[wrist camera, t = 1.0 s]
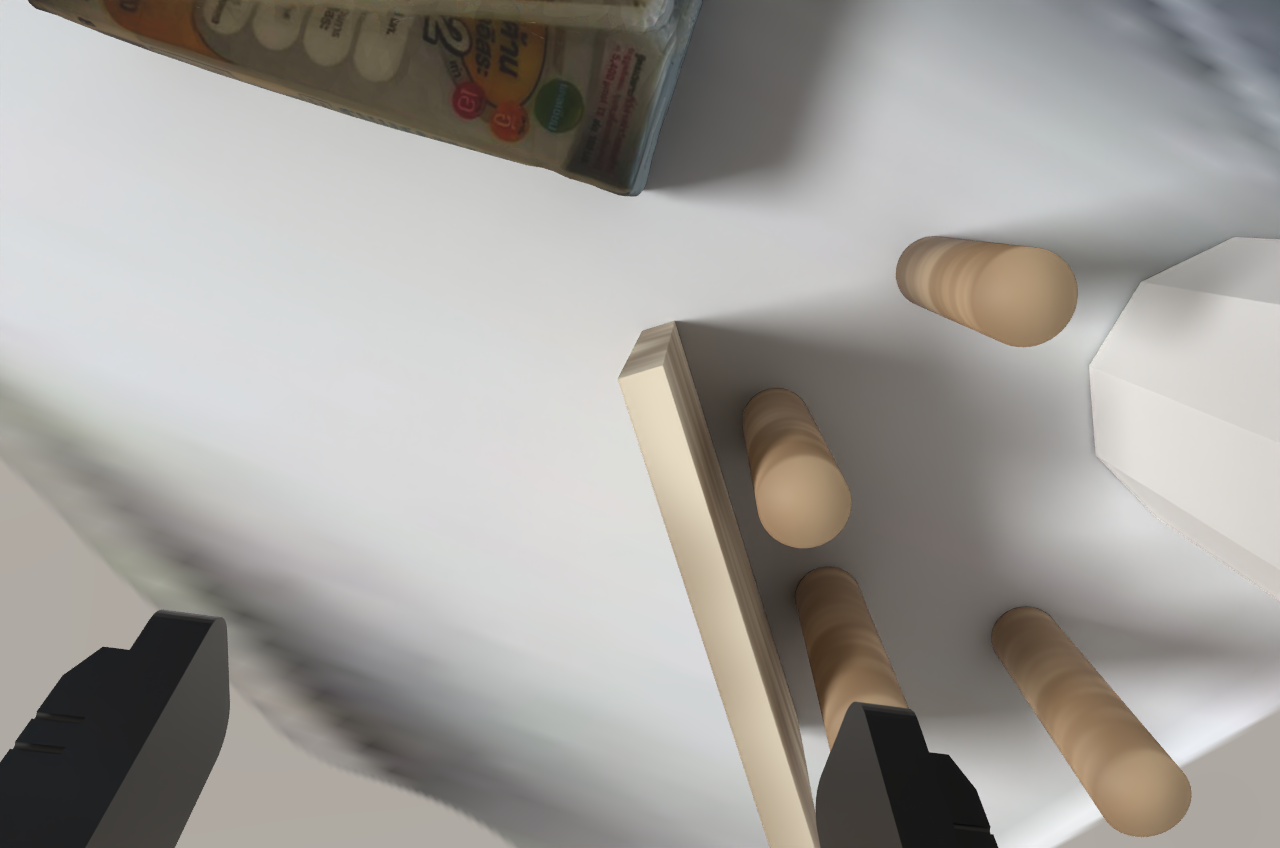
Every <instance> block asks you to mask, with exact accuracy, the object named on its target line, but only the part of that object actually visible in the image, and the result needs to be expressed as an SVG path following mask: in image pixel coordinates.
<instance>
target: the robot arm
mask: <svg viewBox="0 0 1280 848" xmlns="http://www.w3.org/2000/svg"><path fill="white" fill-rule="evenodd" d="M229 710H230V695H229V669H228V643H227V626H226V622H225V620H224V619H223V618H221V617H214V616H207V615H199V614H191V613H184V612H176V611H168V610H159V611H157V612H156V613H155V614H154V615H153V616H152V617H151V619H150V620H149V621H148V623H147V624H146V626H145V627H144V629H143V630H142V632H141V634H140V635H139V637H138V638H137V640H136V641H135V643H134V644H133V646H132V647H131V649H130V650H124V649H117V648H109V647H102V648H101V649H99V650H98V651H96V652H95V653H94V654H92V655H91V656H89V657H88V658H87V659H85V660H84V661H82V662H81V663H80V664H78V665H77V666H75V667H74V668H73V669H71V670H70V671H68V672H67V673H66V674H64V675H63V676H62V677H61V679H60V680H59V681H58V683H57V684H56V686H55V687H54V689H53V690H52V691H51V693H50V694H49V695H48V697H47V698H46V700H45V701H44V702H43V704H42V705H41V707H40V708H39V709H38V711H37V715H36V717H35V719H31V721H30V722H29V723H28V725H27V726H26V727H25V729H24V730H23V732H22V733H21V734H20V736H19V737H18V738H17V740H16V742H15V746H14V748H13V749H10V750H9V751H8V752H7V754H6V755H5V757H4V758H3V759H2V761H1V762H0V848H175V846H176V844H177V842H178V840H179V838H180V835H181V833H182V831H183V829H184V827H185V825H186V823H187V821H188V819H189V817H190V814H191V812H192V810H193V808H194V806H195V804H196V802H197V799H198V798H199V795H200V793H201V791H202V789H203V787H204V785H205V783H206V780H207V779H208V777H209V774H210V772H211V770H212V768H213V766H214V764H215V762H216V760H217V757H218V755H219V752H220V750H221V747H222V744H223V741H224V737H225V734H226V729H227V725H228V719H229ZM816 826H817V832H818V837H819V843H820V848H998V846H997V843H996V841H995V838H994V835H992V834H990V825H989V822H988V819H987V817H986V814H985V812H984V809H983V806H982V804H981V801H980V798H979V796H978V793H977V790H976V789H975V787H974V786H973V785H972V784H971V782H970V781H969V780H968V779H967V777H966V776H965V775H964V774H963V772H962V771H961V770H960V769H959V767H958V766H957V765H956V764H955V762H954V761H953V760H952V759H951V757H950V756H949V755H946V754H938V753H930V752H929V751H928V749H927V746H926V743H925V740H924V737H923V734H922V731H921V728H920V725H919V722H918V720H917V717H916V715H915V713H914V712H913V711H912V710H911V709H909V708H902V707H894V706H886V705H878V704H871V703H863V702H853V703H852V704H851V705H850V706H849V707H848V709H847V711H846V714H845V716H844V719H843V721H842V724H841V726H840V729H839V731H838V734H837V737H836V739H835V742H834V744H833V747H832V749H831V752H830V754H829V757H828V760H827V762H826V765H825V767H824V770H823V772H822V775H821V778H820V781H819V785H818V790H817V797H816Z"/></svg>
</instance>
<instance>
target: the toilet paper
mask: <svg viewBox="0 0 1280 848" xmlns="http://www.w3.org/2000/svg"><path fill="white" fill-rule="evenodd" d="M1089 373H1090V387H1091V400H1092V413H1093V427H1094V440H1095V453H1096V456H1097V457H1098V458H1099V459H1100V460H1101V461H1102V462H1103V463H1104V464H1105V465H1106V466H1107V467H1108V468H1109V469H1110V470H1111V472H1112V473H1113V474H1114V475H1115V476H1116V477H1117V478H1118V479H1119V480H1120V481H1121V482H1122V483H1123V484H1124V485H1125V486H1126V487H1127V488H1128V489H1129V490H1130V491H1131V492H1132V493H1133V494H1134V495H1135V496H1136V497H1137V498H1138V499H1139V500H1140V502H1141V503H1142V504H1143V505H1144V506H1145V507H1146V508H1147V509H1148V510H1149V511H1150V512H1151V513H1152V514H1153V515H1154V516H1155V517H1156V518H1158V519H1159V520H1160V521H1162V522H1163V523H1165V524H1166V525H1168V526H1169V527H1171V528H1172V529H1174V530H1175V531H1177V532H1178V533H1180V534H1181V535H1183V536H1184V537H1186V538H1187V539H1188V540H1190V541H1191V542H1193V543H1194V544H1196V545H1197V546H1199V547H1200V548H1202V549H1203V550H1205V551H1206V552H1208V553H1209V554H1211V555H1212V556H1213V557H1215V558H1216V559H1218V560H1219V561H1221V562H1222V563H1224V564H1225V565H1227V566H1228V567H1230V568H1231V569H1233V570H1234V571H1236V572H1237V573H1239V574H1240V575H1241V576H1243V577H1244V578H1246V579H1247V580H1249V581H1250V582H1252V583H1253V584H1255V585H1256V586H1258V587H1259V588H1261V589H1262V590H1264V591H1265V592H1267V593H1268V594H1269V595H1271V596H1272V597H1274V598H1275V599H1277V600H1278V601H1280V239H1264V238H1244V237H1233V238H1231V239H1229V240H1227V241H1225V242H1223V243H1221V244H1218V245H1216V246H1214V247H1212V248H1210V249H1208V250H1206V251H1204V252H1202V253H1200V254H1198V255H1196V256H1194V257H1192V258H1189V259H1187V260H1185V261H1183V262H1181V263H1179V264H1177V265H1175V266H1173V267H1171V268H1169V269H1167V270H1165V271H1162V272H1160V273H1158V274H1156V275H1154V276H1152V277H1150V278H1148V279H1146V280H1144V281H1142V282H1141V283H1140V284H1139V286H1138V287H1137V289H1136V291H1135V292H1134V294H1133V295H1132V297H1131V299H1130V300H1129V302H1128V304H1127V305H1126V307H1125V308H1124V310H1123V312H1122V313H1121V315H1120V317H1119V318H1118V320H1117V321H1116V323H1115V325H1114V326H1113V328H1112V329H1111V331H1110V333H1109V334H1108V336H1107V338H1106V339H1105V341H1104V342H1103V344H1102V346H1101V347H1100V349H1099V351H1098V352H1097V354H1096V355H1095V357H1094V359H1093V360H1092V362H1091V364H1090V365H1089Z"/></svg>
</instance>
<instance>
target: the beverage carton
mask: <svg viewBox="0 0 1280 848" xmlns="http://www.w3.org/2000/svg"><path fill="white" fill-rule="evenodd" d="M28 1H29V3H30V4H31V5H32V6H33V7H35V8H36V9H39V10H42V11H46V12H49V13H52V14H55V15H58V16H61V17H63V18H65V19H67V20H70V21H73V22H75V23H78V24H80V25H83V26H85V27H88V28H91V29H93V30H96V31H98V32H100V33H103V34H105V35H108V36H111V37H114V38H116V39H119V40H122V41H125V42H128V43H130V44H133V45H136V46H139V47H141V48H144V49H147V50H150V51H153V52H155V53H158V54H161V55H164V56H167V57H170V58H173V59H176V60H179V61H182V62H185V63H188V64H191V65H194V66H197V67H199V68H202V69H205V70H208V71H211V72H214V73H217V74H220V75H223V76H226V77H229V78H233V79H236V80H239V81H242V82H245V83H248V84H251V85H254V86H258V87H261V88H264V89H267V90H270V91H273V92H277V93H280V94H283V95H286V96H289V97H293V98H296V99H299V100H302V101H306V102H309V103H312V104H315V105H318V106H322V107H325V108H328V109H331V110H334V111H337V112H340V113H343V114H346V115H350V116H353V117H356V118H360V119H363V120H367V121H370V122H373V123H377V124H380V125H384V126H387V127H391V128H394V129H397V130H401V131H405V132H408V133H412V134H416V135H420V136H423V137H427V138H431V139H434V140H438V141H442V142H445V143H449V144H453V145H456V146H460V147H463V148H467V149H471V150H474V151H478V152H481V153H485V154H489V155H492V156H496V157H499V158H503V159H507V160H510V161H514V162H517V163H521V164H525V165H529V166H536V167H542V168H545V169H548V170H552V171H554V172H557V173H559V174H561V175H563V176H565V177H567V178H570V179H574V180H577V181H580V182H584V183H587V184H590V185H593V186H596V187H598V188H600V189H603V190H606V191H609V192H611V193H614V194H617V195H622V196H637V195H639V194H640V193H641V192H642V191H643V189H644V187H645V185H646V183H647V179H648V174H649V170H650V165H651V161H652V157H653V153H654V150H655V147H656V143H657V140H658V136H659V133H660V129H661V126H662V124H663V121H664V119H665V116H666V114H667V111H668V108H669V104H670V101H671V98H672V95H673V92H674V88H675V85H676V82H677V79H678V76H679V72H680V69H681V66H682V63H683V60H684V57H685V54H686V51H687V48H688V45H689V41H690V38H691V35H692V32H693V28H694V25H695V23H696V20H697V17H698V14H699V11H700V8H701V5H702V1H703V0H28Z"/></svg>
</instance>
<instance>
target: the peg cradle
mask: <svg viewBox="0 0 1280 848" xmlns="http://www.w3.org/2000/svg"><path fill="white" fill-rule="evenodd" d="M896 280H897V284H898V287H899V289H900V291H901V292H902V294H903V295H904V296H905V297H906V298H907V299H908V300H909V301H911V302H912V303H914V304H916V305H918V306H921V307H923V308H925V309H927V310H930V311H932V312H934V313H937V314H939V315H941V316H943V317H946V318H948V319H950V320H952V321H955V322H957V323H959V324H961V325H964V326H966V327H968V328H970V329H973V330H975V331H977V332H979V333H982V334H984V335H986V336H989V337H991V338H993V339H995V340H998V341H1000V342H1002V343H1004V344H1007V345H1011V346H1016V347H1030V346H1035V345H1039V344H1042V343H1044V342H1046V341H1048V340H1050V339H1052V338H1053V337H1055V336H1056V335H1057V334H1059V333H1060V332H1061V331H1062V330H1063V329H1064V328H1065V327H1066V325H1067V324H1068V322H1069V321H1070V319H1071V317H1072V316H1073V313H1074V311H1075V308H1076V304H1077V297H1078V289H1077V282H1076V279H1075V276H1074V274H1073V272H1072V270H1071V268H1070V267H1069V265H1068V264H1067V263H1066V262H1065V261H1064V260H1063V259H1062V258H1061V257H1060V256H1058V255H1056V254H1055V253H1053V252H1051V251H1048V250H1045V249H1042V248H1036V247H1027V246H1018V245H1009V244H1000V243H991V242H982V241H973V240H964V239H955V238H946V237H936V236H931V237H925V238H922V239H919V240H917V241H915V242H913V243H912V244H911V245H909V246H908V247H907V248H906V249H905V250H904V252H903V253H902V255H901V256H900V258H899V261H898V263H897V268H896ZM618 382H619V385H620V388H621V391H622V394H623V397H624V400H625V404H626V407H627V410H628V413H629V416H630V419H631V422H632V425H633V428H634V431H635V434H636V437H637V441H638V444H639V447H640V450H641V453H642V456H643V459H644V462H645V465H646V468H647V471H648V474H649V477H650V481H651V484H652V487H653V490H654V493H655V496H656V499H657V502H658V505H659V508H660V511H661V514H662V517H663V521H664V524H665V527H666V530H667V533H668V536H669V539H670V542H671V545H672V548H673V551H674V554H675V557H676V561H677V564H678V567H679V570H680V573H681V576H682V579H683V582H684V585H685V588H686V591H687V594H688V598H689V601H690V604H691V607H692V610H693V613H694V616H695V619H696V622H697V625H698V628H699V631H700V634H701V638H702V641H703V644H704V647H705V650H706V653H707V656H708V659H709V662H710V665H711V668H712V671H713V674H714V678H715V681H716V684H717V687H718V690H719V693H720V696H721V699H722V702H723V705H724V708H725V711H726V714H727V718H728V721H729V724H730V727H731V730H732V733H733V736H734V739H735V742H736V745H737V748H738V751H739V755H740V758H741V761H742V764H743V767H744V770H745V773H746V776H747V779H748V782H749V785H750V788H751V791H752V795H753V798H754V801H755V804H756V807H757V810H758V813H759V816H760V819H761V822H762V825H763V828H764V831H765V835H766V838H767V841H768V844H769V847H770V848H820V843H819V837H818V832H817V826H816V815H815V809H814V804H813V798H812V793H811V787H810V782H809V777H808V771H807V766H806V760H805V755H804V750H803V744H802V739H801V733H800V728H799V722H798V718H797V715H796V712H795V708H794V705H793V702H792V699H791V695H790V692H789V689H788V686H787V682H786V679H785V676H784V673H783V669H782V666H781V663H780V660H779V657H778V653H777V650H776V647H775V644H774V640H773V637H772V634H771V631H770V627H769V624H768V621H767V618H766V615H765V611H764V608H763V605H762V602H761V598H760V595H759V592H758V589H757V585H756V582H755V579H754V576H753V573H752V569H751V566H750V563H749V560H748V556H747V553H746V550H745V547H744V543H743V540H742V537H741V534H740V531H739V527H738V524H737V521H736V518H735V514H734V511H733V508H732V505H731V501H730V498H729V495H728V492H727V489H726V485H725V482H724V479H723V476H722V472H721V469H720V466H719V463H718V459H717V456H716V453H715V450H714V446H713V443H712V440H711V437H710V434H709V430H708V427H707V424H706V421H705V417H704V414H703V411H702V408H701V404H700V401H699V398H698V395H697V392H696V388H695V385H694V382H693V379H692V375H691V372H690V369H689V366H688V362H687V359H686V356H685V353H684V350H683V346H682V343H681V340H680V337H679V333H678V330H677V327H676V324H675V321H673V322H670V323H667V324H663V325H660V326H657V327H654V328H650V329H647V330H644V331H642V332H641V334H640V336H639V338H638V340H637V342H636V344H635V346H634V348H633V350H632V352H631V354H630V356H629V358H628V360H627V362H626V364H625V366H624V368H623V369H622V371H621V373H620V375H619V377H618ZM742 426H743V432H744V437H745V443H746V448H747V454H748V460H749V465H750V471H751V476H752V482H753V488H754V493H755V499H756V505H757V510H758V515H759V518H760V521H761V523H762V525H763V527H764V528H765V529H766V531H767V532H768V533H769V534H770V535H771V536H772V537H773V538H774V539H776V540H777V541H779V542H780V543H782V544H785V545H787V546H791V547H795V548H812V547H817V546H820V545H823V544H825V543H827V542H829V541H830V540H832V539H833V538H834V537H835V536H837V535H838V534H839V533H840V532H841V530H842V529H843V528H844V526H845V525H846V523H847V521H848V518H849V515H850V511H851V494H850V490H849V488H848V485H847V483H846V481H845V479H844V477H843V476H842V474H841V472H840V470H839V468H838V466H837V464H836V462H835V460H834V458H833V456H832V454H831V453H830V451H829V449H828V447H827V445H826V443H825V441H824V439H823V437H822V435H821V433H820V431H819V430H818V428H817V426H816V424H815V422H814V420H813V418H812V416H811V414H810V412H809V410H808V409H807V407H806V405H805V403H804V402H803V400H802V399H801V398H800V397H799V396H798V395H796V394H795V393H793V392H791V391H789V390H786V389H781V388H772V389H767V390H764V391H762V392H760V393H758V394H757V395H755V396H754V397H753V398H752V399H751V400H750V401H749V402H748V404H747V405H746V407H745V410H744V413H743V417H742ZM795 601H796V606H797V610H798V614H799V619H800V623H801V627H802V632H803V636H804V640H805V644H806V649H807V653H808V657H809V662H810V666H811V670H812V674H813V679H814V683H815V687H816V691H817V696H818V700H819V704H820V709H821V713H822V717H823V721H824V726H825V730H826V734H827V739H828V743H829V747H830V751H831V749H832V747H833V744H834V742H835V739H836V737H837V734H838V731H839V729H840V726H841V724H842V721H843V719H844V716H845V714H846V711H847V709H848V707H849V706H850V705H851V704H852V703H853V702H863V703H871V704H878V705H886V706H894V707H902V708H908V705H907V703H906V700H905V698H904V696H903V693H902V691H901V688H900V686H899V683H898V681H897V679H896V676H895V674H894V671H893V669H892V666H891V664H890V662H889V659H888V657H887V654H886V652H885V649H884V647H883V645H882V642H881V640H880V637H879V635H878V632H877V630H876V628H875V625H874V623H873V620H872V618H871V615H870V613H869V611H868V608H867V606H866V603H865V601H864V598H863V596H862V593H861V591H860V589H859V586H858V584H857V582H856V581H855V579H854V578H853V577H852V576H851V575H850V574H849V573H847V572H845V571H844V570H841V569H839V568H835V567H822V568H818V569H815V570H813V571H811V572H810V573H808V574H807V575H806V576H804V577H803V579H802V580H801V581H800V583H799V585H798V587H797V589H796V594H795ZM991 642H992V646H993V649H994V651H995V653H996V655H997V656H998V658H999V659H1000V661H1001V662H1002V664H1003V665H1004V667H1005V668H1006V670H1007V671H1008V673H1009V674H1010V676H1011V677H1012V679H1013V680H1014V682H1015V683H1016V685H1017V686H1018V688H1019V689H1020V691H1021V692H1022V694H1023V695H1024V697H1025V699H1026V700H1027V702H1028V703H1029V705H1030V706H1031V708H1032V709H1033V711H1034V712H1035V714H1036V715H1037V717H1038V718H1039V720H1040V721H1041V723H1042V724H1043V726H1044V727H1045V729H1046V730H1047V732H1048V733H1049V735H1050V736H1051V738H1052V740H1053V741H1054V743H1055V744H1056V746H1057V747H1058V749H1059V750H1060V752H1061V753H1062V755H1063V756H1064V758H1065V759H1066V761H1067V762H1068V764H1069V765H1070V767H1071V768H1072V770H1073V771H1074V773H1075V774H1076V776H1077V777H1078V779H1079V780H1080V782H1081V784H1082V785H1083V787H1084V788H1085V790H1086V791H1087V793H1088V794H1089V796H1090V797H1091V799H1092V800H1093V802H1094V803H1095V805H1096V806H1097V808H1098V809H1099V811H1100V812H1101V814H1102V815H1103V817H1104V818H1105V820H1106V821H1107V822H1108V823H1109V824H1110V825H1111V826H1112V827H1113V828H1114V829H1116V830H1118V831H1119V832H1121V833H1124V834H1127V835H1130V836H1136V837H1149V836H1154V835H1158V834H1161V833H1163V832H1166V831H1167V830H1169V829H1171V828H1172V827H1174V826H1175V825H1176V824H1177V823H1179V822H1180V821H1181V819H1182V818H1183V817H1184V815H1185V814H1186V812H1187V810H1188V808H1189V806H1190V802H1191V787H1190V784H1189V781H1188V779H1187V777H1186V775H1185V774H1184V773H1183V771H1182V770H1181V769H1180V768H1179V767H1178V766H1177V764H1176V763H1175V762H1174V761H1173V760H1172V759H1171V757H1170V756H1169V755H1168V754H1167V753H1166V751H1165V750H1164V749H1163V748H1162V747H1161V746H1160V744H1159V743H1158V742H1157V741H1156V740H1155V739H1154V737H1153V736H1152V735H1151V734H1150V733H1149V732H1148V730H1147V729H1146V728H1145V727H1144V726H1143V725H1142V723H1141V722H1140V721H1139V720H1138V719H1137V717H1136V716H1135V715H1134V714H1133V713H1132V712H1131V710H1130V709H1129V708H1128V707H1127V706H1126V705H1125V703H1124V702H1123V701H1122V700H1121V699H1120V698H1119V696H1118V695H1117V694H1116V693H1115V692H1114V691H1113V689H1112V688H1111V687H1110V686H1109V685H1108V683H1107V682H1106V681H1105V680H1104V679H1103V678H1102V676H1101V675H1100V674H1099V673H1098V672H1097V671H1096V669H1095V668H1094V667H1093V666H1092V665H1091V664H1090V662H1089V661H1088V660H1087V659H1086V658H1085V657H1084V655H1083V654H1082V653H1081V652H1080V651H1079V650H1078V648H1077V647H1076V646H1075V645H1074V644H1073V642H1072V641H1071V640H1070V639H1069V638H1068V637H1067V635H1066V634H1065V633H1064V632H1063V631H1062V630H1061V628H1060V627H1059V626H1058V625H1057V624H1056V623H1055V621H1054V620H1053V619H1052V618H1051V617H1050V616H1049V615H1048V614H1047V613H1046V612H1044V611H1042V610H1040V609H1037V608H1034V607H1019V608H1015V609H1012V610H1010V611H1008V612H1006V613H1005V614H1004V615H1002V616H1001V617H1000V618H999V619H998V621H997V622H996V624H995V625H994V628H993V630H992V635H991Z"/></svg>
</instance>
